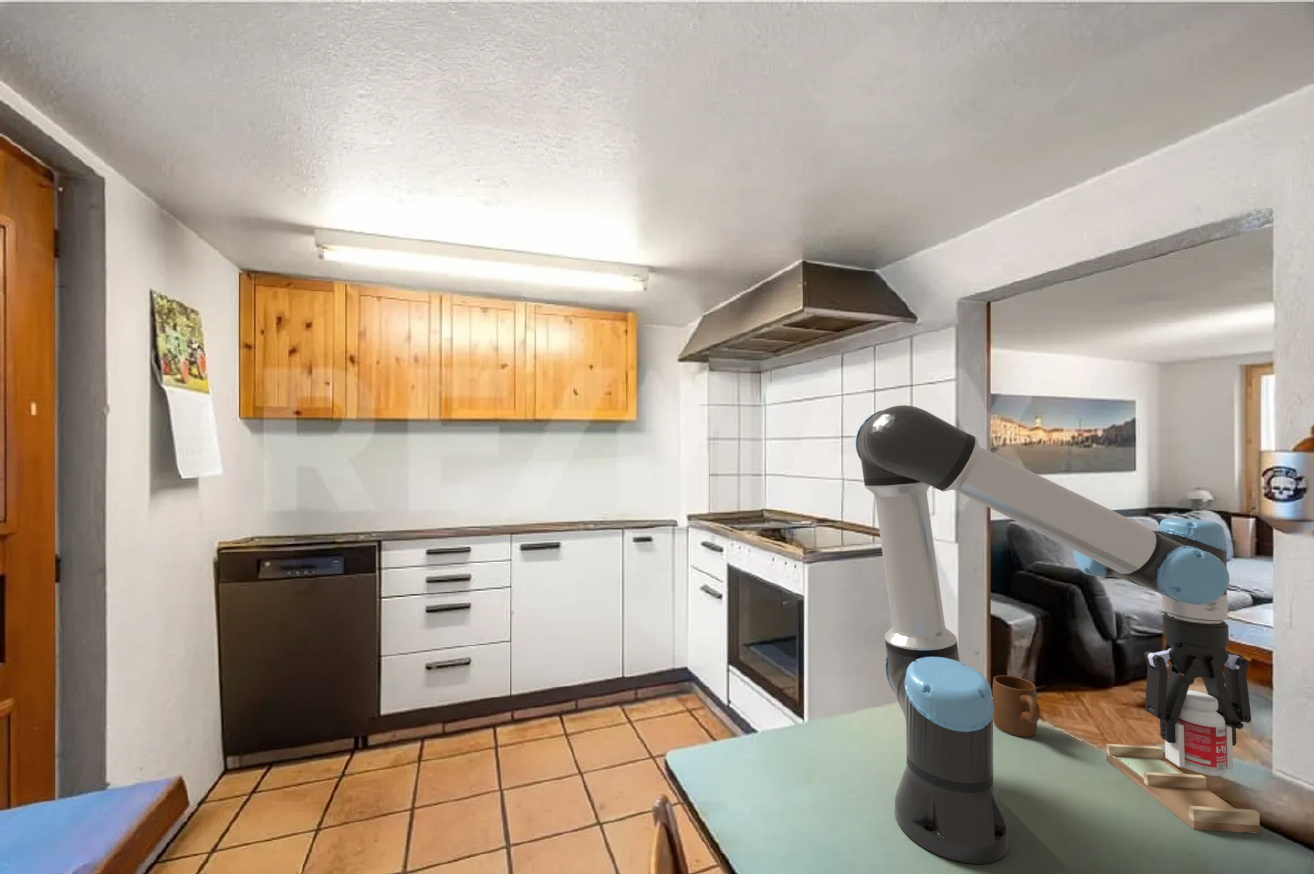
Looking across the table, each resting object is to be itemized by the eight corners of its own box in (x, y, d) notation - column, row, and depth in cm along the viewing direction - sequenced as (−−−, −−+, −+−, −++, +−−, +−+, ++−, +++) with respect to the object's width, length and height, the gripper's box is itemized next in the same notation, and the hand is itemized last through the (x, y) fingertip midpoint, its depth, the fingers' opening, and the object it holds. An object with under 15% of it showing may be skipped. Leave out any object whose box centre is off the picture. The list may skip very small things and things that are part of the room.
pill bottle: (1226, 782, 83) (1224, 708, 83) (1171, 766, 87) (1169, 695, 87) (1226, 765, 87) (1224, 695, 87) (1173, 750, 91) (1171, 683, 92)
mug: (1059, 751, 104) (1058, 701, 104) (1016, 749, 105) (1016, 699, 105) (1024, 720, 116) (1023, 675, 116) (986, 718, 117) (985, 673, 117)
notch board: (1193, 829, 83) (1193, 809, 83) (1106, 760, 101) (1106, 743, 101) (1259, 833, 82) (1259, 813, 82) (1159, 763, 100) (1159, 746, 100)
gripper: (1147, 622, 85) (1151, 774, 84) (1285, 625, 83) (1290, 780, 82) (1112, 608, 92) (1116, 747, 92) (1238, 611, 90) (1242, 753, 90)
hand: (1198, 763), depth 87 cm, fingers closed on pill bottle, 6 cm apart
